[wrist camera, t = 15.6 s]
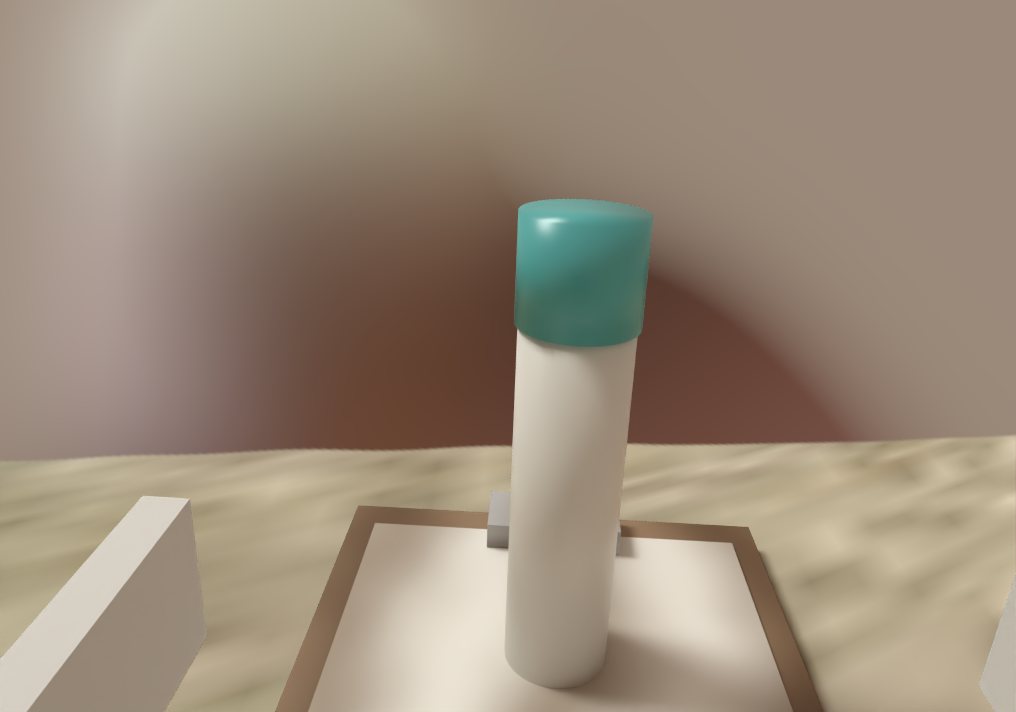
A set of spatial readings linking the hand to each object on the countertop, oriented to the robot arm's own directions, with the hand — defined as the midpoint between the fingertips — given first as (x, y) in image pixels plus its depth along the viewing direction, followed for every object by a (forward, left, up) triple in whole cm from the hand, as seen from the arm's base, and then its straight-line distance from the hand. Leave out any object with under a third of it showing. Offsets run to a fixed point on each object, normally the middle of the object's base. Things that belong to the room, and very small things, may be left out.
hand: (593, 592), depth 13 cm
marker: (0, +10, -10) cm, 14 cm away
